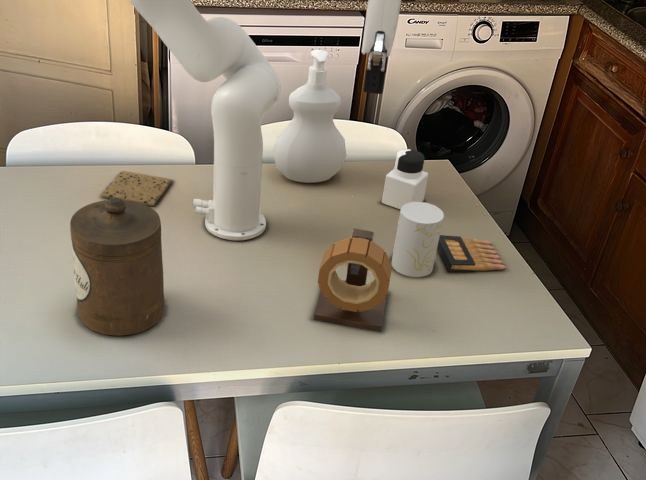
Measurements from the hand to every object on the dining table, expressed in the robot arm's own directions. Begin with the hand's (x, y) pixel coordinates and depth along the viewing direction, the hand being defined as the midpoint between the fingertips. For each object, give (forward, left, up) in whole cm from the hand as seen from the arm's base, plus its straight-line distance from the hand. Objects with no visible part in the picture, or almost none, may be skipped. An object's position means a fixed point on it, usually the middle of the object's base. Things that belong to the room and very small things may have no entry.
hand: (374, 82), depth 142 cm
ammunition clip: (+18, +4, -34) cm, 39 cm away
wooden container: (-37, -31, -36) cm, 60 cm away
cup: (+12, -1, -36) cm, 38 cm away
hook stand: (+2, -18, -36) cm, 40 cm away
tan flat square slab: (-49, +11, -36) cm, 61 cm away
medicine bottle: (+8, +24, -36) cm, 44 cm away
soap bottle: (-14, +30, -36) cm, 49 cm away
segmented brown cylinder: (+2, -21, -26) cm, 34 cm away
